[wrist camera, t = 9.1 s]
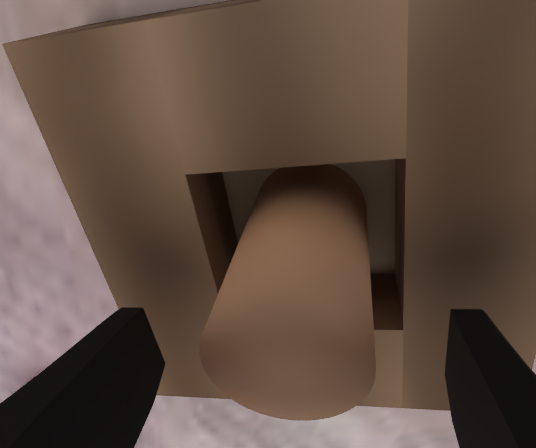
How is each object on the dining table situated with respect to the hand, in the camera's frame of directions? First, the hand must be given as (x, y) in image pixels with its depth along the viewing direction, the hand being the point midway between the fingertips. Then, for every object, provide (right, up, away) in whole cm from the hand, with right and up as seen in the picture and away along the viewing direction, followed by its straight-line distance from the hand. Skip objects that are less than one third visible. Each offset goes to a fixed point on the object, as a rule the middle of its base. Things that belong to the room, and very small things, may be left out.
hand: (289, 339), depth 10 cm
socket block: (+1, +4, +6) cm, 7 cm away
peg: (+1, +3, +5) cm, 6 cm away
